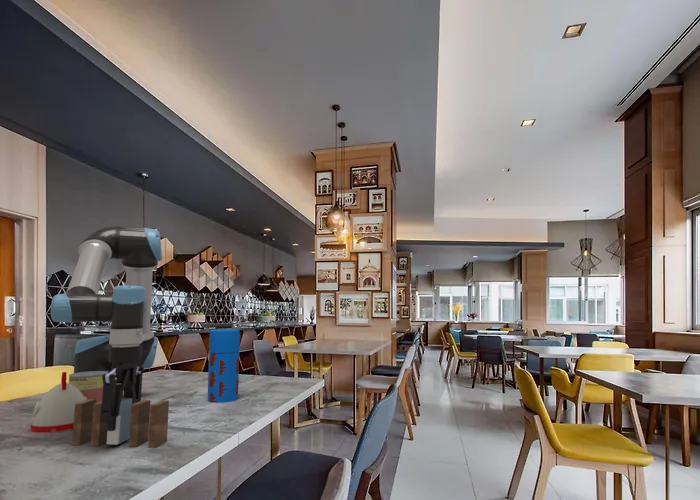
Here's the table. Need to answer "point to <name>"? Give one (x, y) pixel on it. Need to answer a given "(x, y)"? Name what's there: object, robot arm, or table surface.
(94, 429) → the domino
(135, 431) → the domino
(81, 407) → the domino
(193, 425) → the table surface
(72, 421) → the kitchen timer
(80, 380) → the canned food
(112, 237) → the robot arm
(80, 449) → the table surface
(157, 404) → the domino
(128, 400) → the domino
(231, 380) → the thermos
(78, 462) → the table surface
